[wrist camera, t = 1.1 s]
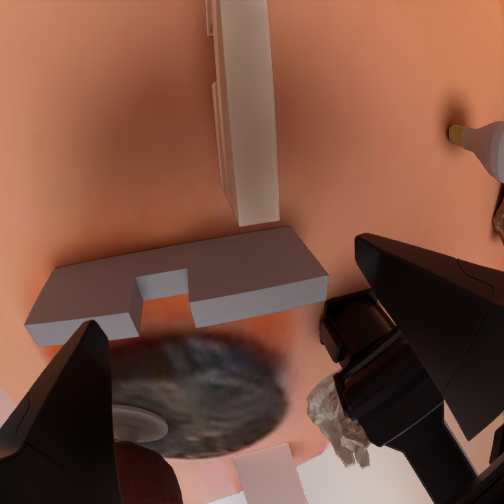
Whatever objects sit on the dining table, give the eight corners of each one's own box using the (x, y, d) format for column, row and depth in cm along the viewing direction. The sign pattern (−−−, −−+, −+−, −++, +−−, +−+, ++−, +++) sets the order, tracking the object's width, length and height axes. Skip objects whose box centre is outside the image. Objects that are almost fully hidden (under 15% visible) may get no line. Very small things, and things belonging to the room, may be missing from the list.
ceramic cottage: (300, 423, 42) (334, 491, 30) (312, 370, 35) (366, 460, 22) (372, 394, 46) (411, 449, 33) (399, 336, 38) (456, 401, 25)
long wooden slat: (231, -44, 11) (254, -94, 5) (249, 182, 20) (279, 220, 14) (202, -43, 10) (214, -95, 4) (221, 185, 19) (239, 226, 14)
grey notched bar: (289, 225, 22) (328, 275, 16) (289, 247, 23) (325, 300, 17) (54, 268, 19) (24, 325, 13) (63, 287, 20) (38, 346, 14)
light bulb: (430, 151, 22) (513, 187, 13) (439, 99, 19) (525, 121, 11) (458, 163, 23) (530, 198, 15) (467, 117, 20) (542, 143, 12)
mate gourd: (124, 444, 36) (132, 544, 19) (65, 409, 29) (58, 530, 12) (199, 428, 36) (223, 544, 19) (143, 389, 29) (155, 548, 12)
